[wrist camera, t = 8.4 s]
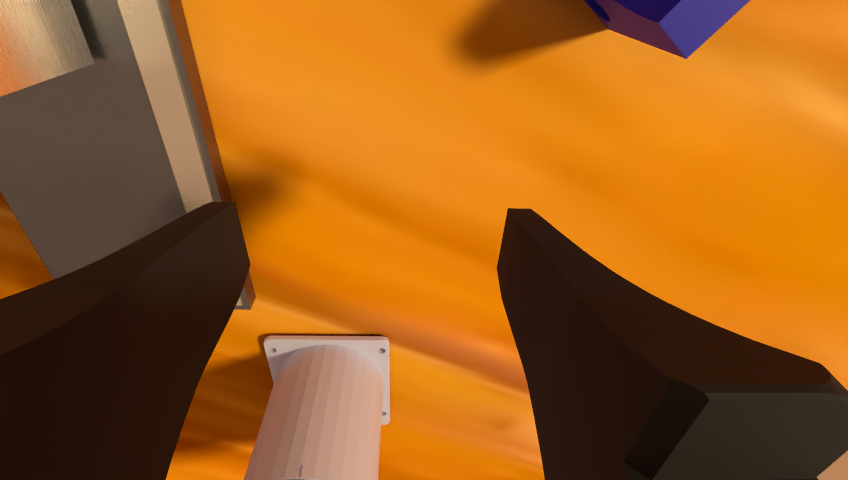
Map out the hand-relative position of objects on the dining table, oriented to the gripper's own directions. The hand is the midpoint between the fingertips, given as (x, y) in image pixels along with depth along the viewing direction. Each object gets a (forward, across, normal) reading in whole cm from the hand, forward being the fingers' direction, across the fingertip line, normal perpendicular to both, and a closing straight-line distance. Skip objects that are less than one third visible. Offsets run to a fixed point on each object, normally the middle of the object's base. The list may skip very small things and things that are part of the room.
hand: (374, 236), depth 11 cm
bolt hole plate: (+9, +13, +2) cm, 16 cm away
